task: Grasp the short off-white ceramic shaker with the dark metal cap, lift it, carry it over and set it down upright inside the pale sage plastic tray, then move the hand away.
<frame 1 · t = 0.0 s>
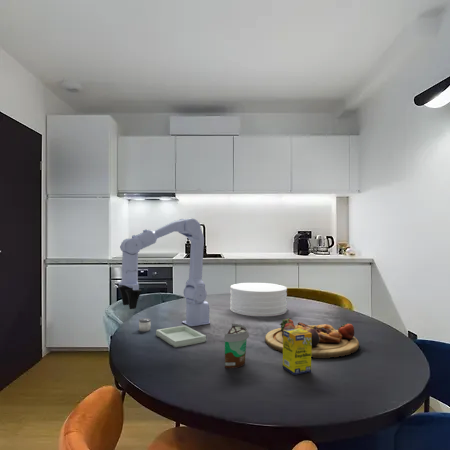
hand: (129, 306, 131), 10 cm above the table, tool pointing down, fingers open, 7 cm apart
supplement box: (296, 370, 99), on the table
shaker: (144, 329, 137), on the table
plate stack: (258, 310, 175), on the table
food container: (238, 363, 104), on the table
tray: (180, 338, 126), on the table
wooden plate with food: (310, 344, 124), on the table
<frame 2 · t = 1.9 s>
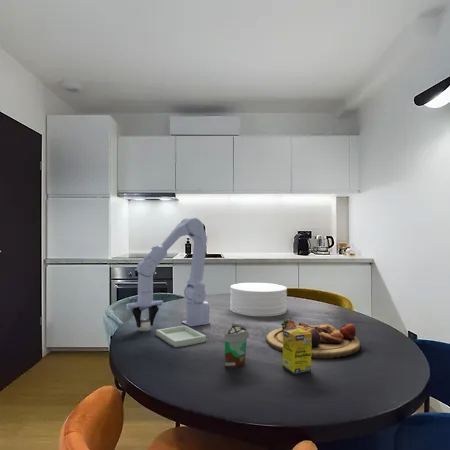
hand: (144, 326, 137), 1 cm above the table, tool pointing down, fingers closed on shaker, 4 cm apart
shaker: (144, 329, 137), on the table, touching gripper
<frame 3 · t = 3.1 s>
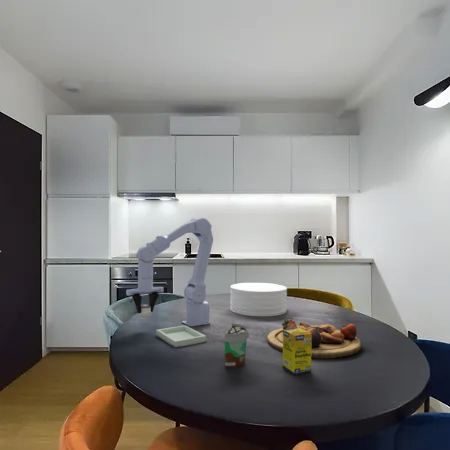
hand: (145, 312, 137), 7 cm above the table, tool pointing down, fingers closed on shaker, 4 cm apart
shaker: (145, 315, 137), point 5 cm above the table, touching gripper
everything else where it was.
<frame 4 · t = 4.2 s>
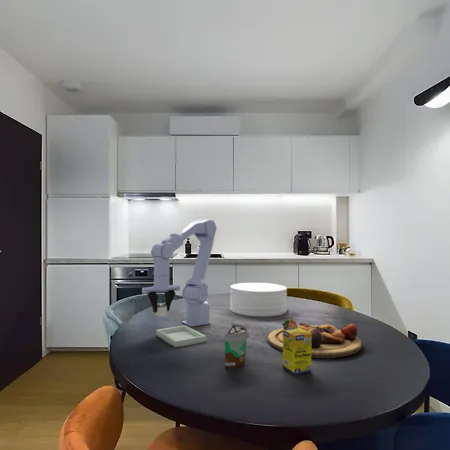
hand: (161, 311, 132), 8 cm above the table, tool pointing down, fingers closed on shaker, 4 cm apart
shaker: (161, 315, 132), point 7 cm above the table, touching gripper
everything else where it was.
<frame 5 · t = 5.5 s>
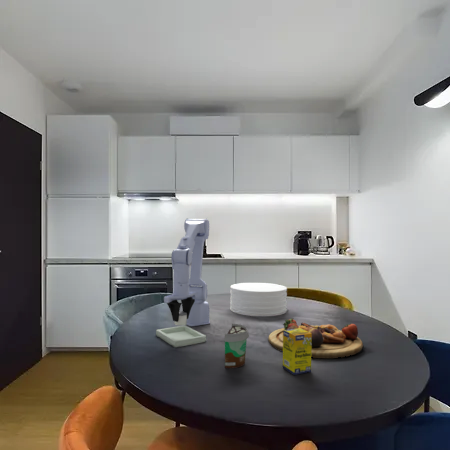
hand: (180, 319, 126), 7 cm above the table, tool pointing down, fingers closed on shaker, 4 cm apart
shaker: (180, 323, 126), point 5 cm above the table, touching gripper
when the fingers open (3 cm above the table, at t = 6.7 s): shaker drops 1 cm, resting on tray.
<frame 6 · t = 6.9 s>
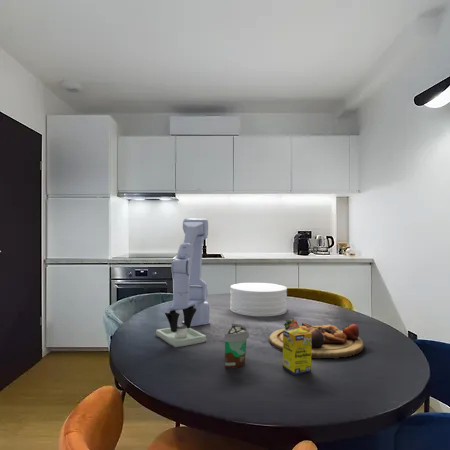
hand: (180, 329, 126), 3 cm above the table, tool pointing down, fingers open, 6 cm apart
shaker: (180, 336, 126), point 1 cm above the table, touching tray
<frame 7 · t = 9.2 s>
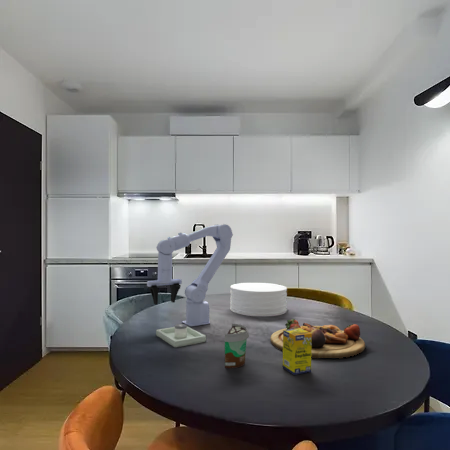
hand: (164, 303, 142), 9 cm above the table, tool pointing down, fingers open, 7 cm apart
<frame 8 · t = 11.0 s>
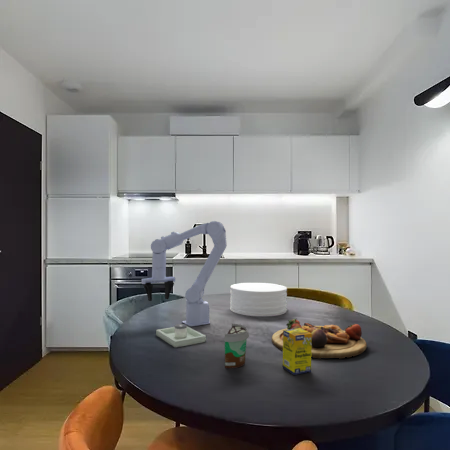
hand: (158, 299, 148), 9 cm above the table, tool pointing down, fingers open, 7 cm apart
at the end: shaker inside the target area on the tray (0.1 cm from its centre), point 0.5 cm above the tray's base; shaker tilted 1°; the gripper is holding nothing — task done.
